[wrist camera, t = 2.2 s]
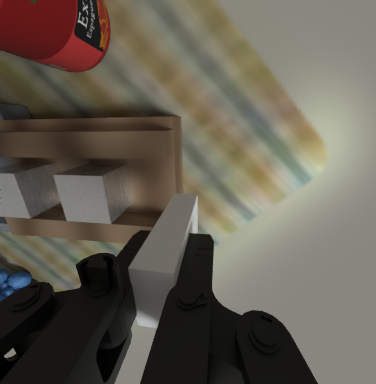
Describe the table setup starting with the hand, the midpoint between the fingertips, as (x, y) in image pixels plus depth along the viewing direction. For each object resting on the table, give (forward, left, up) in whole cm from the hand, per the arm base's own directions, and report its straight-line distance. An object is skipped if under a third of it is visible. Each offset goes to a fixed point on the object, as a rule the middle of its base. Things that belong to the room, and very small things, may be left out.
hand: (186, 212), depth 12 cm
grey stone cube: (-16, 0, -5) cm, 17 cm away
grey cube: (-8, 0, -5) cm, 10 cm away
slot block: (-10, 0, -9) cm, 14 cm away
